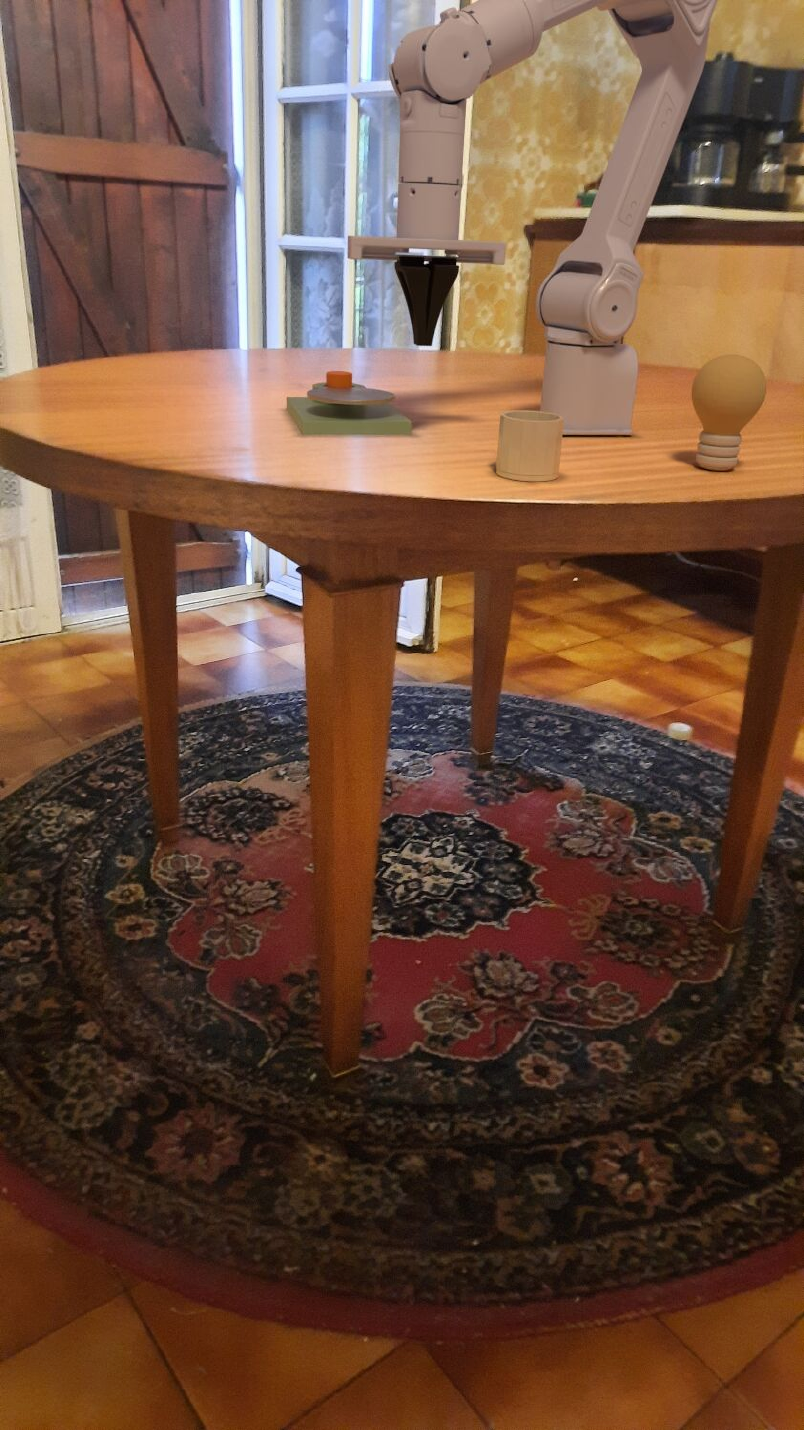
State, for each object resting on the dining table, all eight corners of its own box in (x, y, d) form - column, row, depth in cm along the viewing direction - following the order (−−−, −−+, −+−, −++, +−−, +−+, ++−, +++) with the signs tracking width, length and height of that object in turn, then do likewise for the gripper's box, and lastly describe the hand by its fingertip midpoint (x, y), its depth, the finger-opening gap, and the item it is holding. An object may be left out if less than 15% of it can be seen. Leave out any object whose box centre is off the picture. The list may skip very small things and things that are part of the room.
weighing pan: (385, 391, 109) (385, 387, 109) (402, 405, 101) (403, 401, 101) (302, 390, 107) (301, 386, 107) (312, 404, 100) (313, 400, 99)
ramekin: (546, 467, 92) (551, 410, 90) (566, 481, 87) (573, 421, 85) (488, 468, 91) (493, 410, 88) (506, 482, 86) (511, 421, 84)
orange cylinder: (324, 387, 113) (324, 370, 112) (349, 387, 113) (349, 371, 112) (328, 391, 110) (328, 374, 109) (353, 391, 111) (354, 374, 110)
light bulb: (740, 479, 90) (762, 361, 86) (670, 468, 93) (688, 354, 89) (758, 467, 95) (780, 355, 91) (691, 458, 98) (709, 348, 94)
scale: (286, 409, 114) (286, 381, 113) (382, 410, 116) (383, 382, 115) (302, 435, 101) (302, 404, 99) (411, 435, 103) (412, 405, 102)
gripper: (495, 190, 96) (484, 341, 102) (343, 182, 94) (341, 338, 99) (517, 188, 90) (504, 350, 96) (355, 180, 87) (352, 347, 93)
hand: (422, 345), depth 97 cm, fingers closed
